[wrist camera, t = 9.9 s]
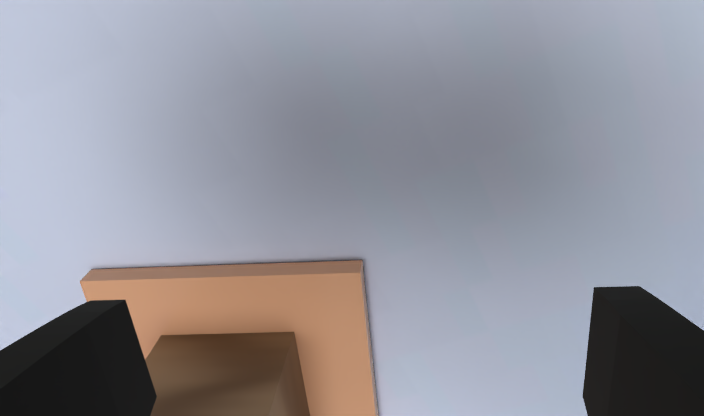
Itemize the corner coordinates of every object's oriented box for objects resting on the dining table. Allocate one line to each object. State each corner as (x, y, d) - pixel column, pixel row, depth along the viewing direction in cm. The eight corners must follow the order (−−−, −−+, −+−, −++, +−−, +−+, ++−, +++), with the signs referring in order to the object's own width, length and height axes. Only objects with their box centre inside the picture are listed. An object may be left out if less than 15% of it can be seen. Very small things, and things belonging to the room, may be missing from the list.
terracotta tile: (362, 260, 19) (360, 272, 18) (383, 465, 23) (383, 482, 22) (91, 269, 20) (79, 281, 19) (158, 462, 24) (150, 478, 24)
